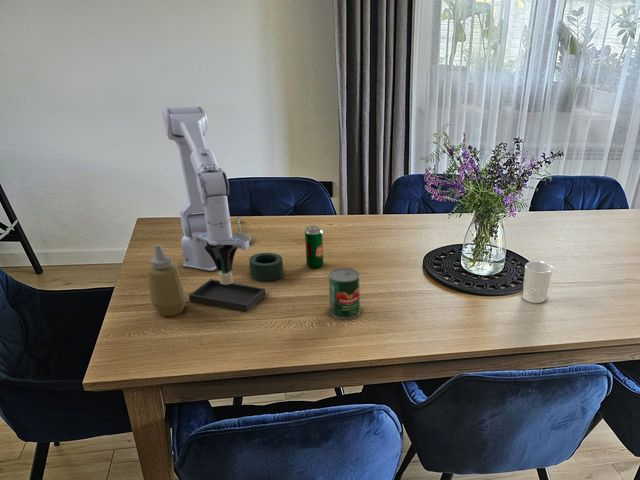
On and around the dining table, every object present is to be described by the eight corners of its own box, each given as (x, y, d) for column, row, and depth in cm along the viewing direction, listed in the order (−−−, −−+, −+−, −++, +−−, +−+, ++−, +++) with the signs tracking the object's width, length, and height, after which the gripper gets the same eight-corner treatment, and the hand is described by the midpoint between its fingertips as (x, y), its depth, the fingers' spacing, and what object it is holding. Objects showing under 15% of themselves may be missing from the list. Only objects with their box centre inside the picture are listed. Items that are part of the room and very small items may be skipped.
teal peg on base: (217, 283, 159) (214, 258, 156) (224, 278, 162) (220, 254, 158) (228, 285, 159) (225, 260, 155) (235, 280, 162) (232, 256, 158)
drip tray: (190, 301, 160) (188, 294, 159) (211, 285, 168) (210, 279, 167) (247, 312, 158) (246, 305, 157) (265, 295, 166) (265, 288, 165)
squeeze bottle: (195, 307, 157) (183, 242, 148) (172, 321, 151) (159, 254, 141) (169, 301, 159) (156, 236, 150) (146, 314, 153) (131, 247, 143)
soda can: (319, 270, 182) (317, 232, 176) (303, 267, 183) (301, 229, 177) (326, 263, 187) (324, 226, 180) (310, 261, 187) (308, 224, 181)
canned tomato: (346, 322, 158) (345, 284, 152) (323, 312, 161) (321, 274, 155) (366, 311, 164) (366, 273, 158) (343, 301, 167) (343, 265, 161)
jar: (245, 278, 174) (243, 262, 171) (260, 266, 181) (258, 250, 179) (274, 283, 173) (273, 267, 170) (288, 271, 180) (287, 255, 177)
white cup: (529, 306, 174) (534, 274, 169) (515, 294, 180) (520, 263, 174) (552, 301, 177) (558, 270, 172) (537, 290, 183) (542, 259, 178)
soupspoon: (229, 249, 191) (251, 248, 194) (229, 239, 190) (251, 239, 192) (229, 221, 208) (249, 221, 211) (228, 212, 207) (249, 212, 209)
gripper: (181, 221, 149) (190, 271, 156) (236, 230, 147) (242, 280, 154) (198, 212, 155) (206, 261, 162) (251, 220, 153) (256, 270, 160)
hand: (224, 270), depth 159 cm, fingers closed on teal peg on base
